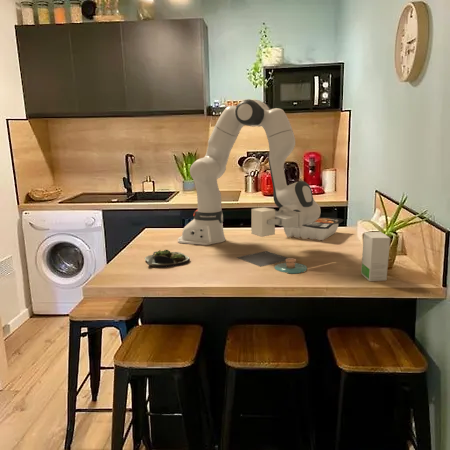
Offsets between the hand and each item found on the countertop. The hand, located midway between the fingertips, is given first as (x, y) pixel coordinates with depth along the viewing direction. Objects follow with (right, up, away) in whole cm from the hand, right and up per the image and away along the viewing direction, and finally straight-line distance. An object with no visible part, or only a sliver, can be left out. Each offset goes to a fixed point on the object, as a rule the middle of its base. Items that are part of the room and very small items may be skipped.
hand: (261, 220), depth 186 cm
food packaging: (+28, -7, +43) cm, 52 cm away
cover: (+1, -5, +2) cm, 6 cm away
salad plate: (-38, -17, +4) cm, 42 cm away
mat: (+1, -16, +4) cm, 16 cm away
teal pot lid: (+10, -18, -9) cm, 23 cm away
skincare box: (+38, -20, -21) cm, 48 cm away
